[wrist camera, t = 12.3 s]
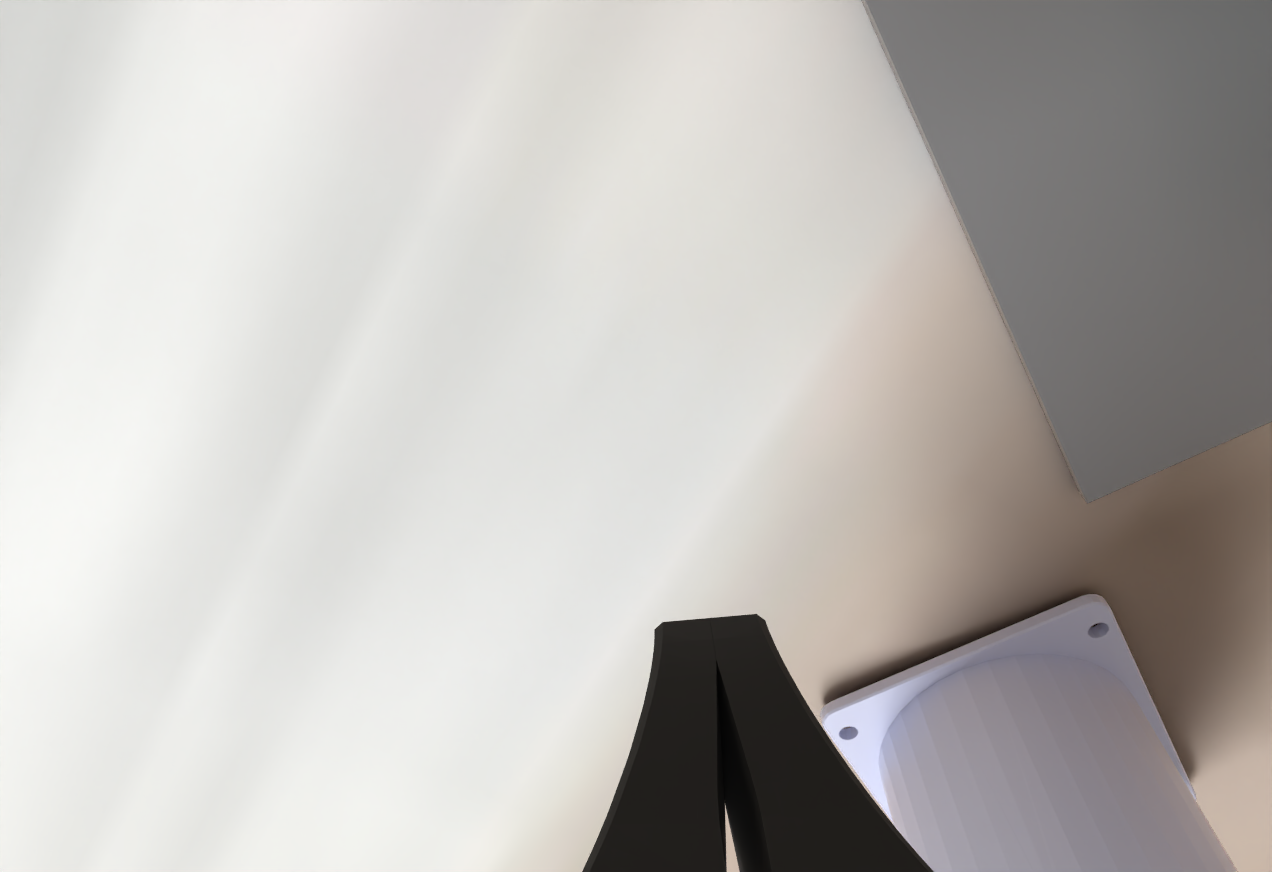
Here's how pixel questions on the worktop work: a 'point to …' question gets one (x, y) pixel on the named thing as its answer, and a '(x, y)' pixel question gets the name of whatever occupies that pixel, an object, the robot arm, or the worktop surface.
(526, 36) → the worktop surface
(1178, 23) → the large grey box
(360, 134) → the worktop surface
